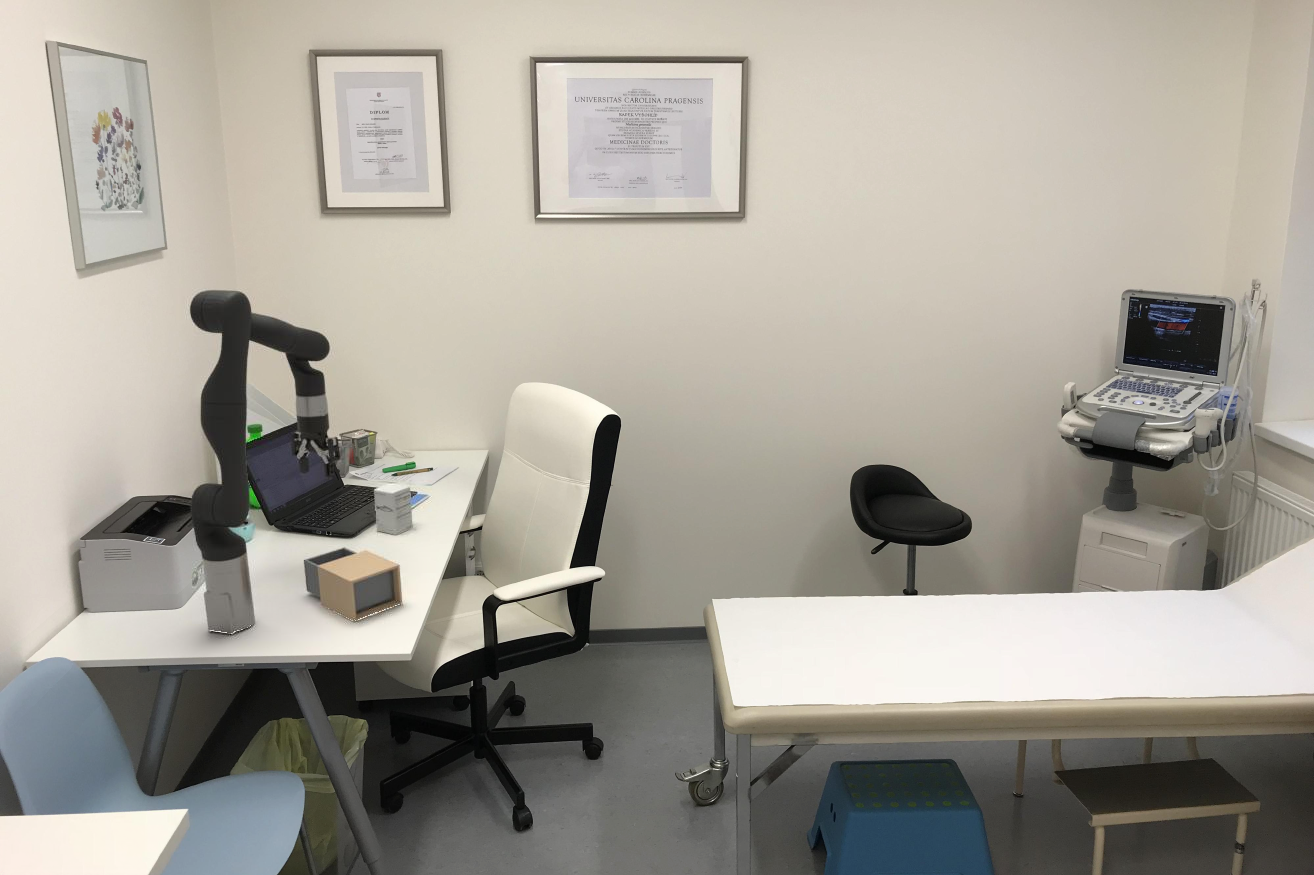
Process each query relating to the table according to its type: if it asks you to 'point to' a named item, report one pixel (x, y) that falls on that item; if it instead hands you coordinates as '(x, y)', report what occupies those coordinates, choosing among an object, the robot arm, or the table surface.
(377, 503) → the supplement box
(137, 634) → the table surface
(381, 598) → the mailer tray
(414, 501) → the tablet computer
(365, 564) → the mailer sleeve
